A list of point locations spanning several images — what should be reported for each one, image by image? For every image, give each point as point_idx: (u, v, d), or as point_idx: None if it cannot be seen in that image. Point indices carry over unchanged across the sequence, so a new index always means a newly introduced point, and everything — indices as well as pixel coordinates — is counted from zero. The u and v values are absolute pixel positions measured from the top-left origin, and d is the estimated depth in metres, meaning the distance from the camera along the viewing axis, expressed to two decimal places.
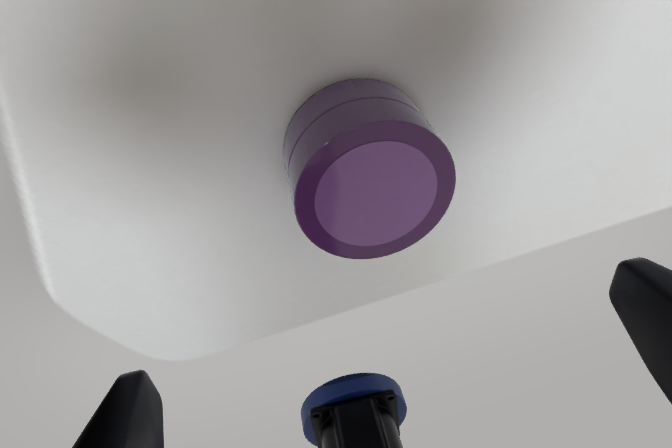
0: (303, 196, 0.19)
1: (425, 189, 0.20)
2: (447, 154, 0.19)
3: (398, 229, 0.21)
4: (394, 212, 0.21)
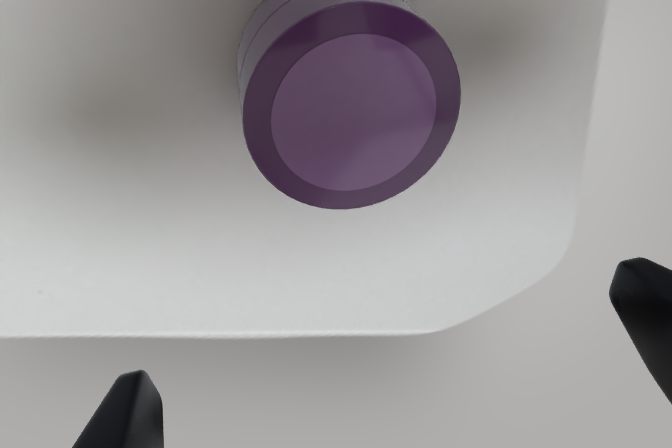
0: (336, 201, 0.17)
1: (357, 51, 0.14)
2: (302, 24, 0.13)
3: (419, 82, 0.15)
4: (388, 92, 0.15)
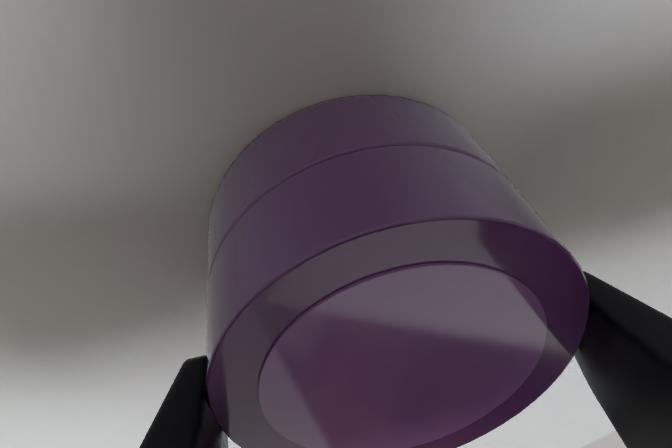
0: None
1: (410, 289, 0.07)
2: (304, 267, 0.07)
3: (520, 311, 0.08)
4: (464, 331, 0.08)
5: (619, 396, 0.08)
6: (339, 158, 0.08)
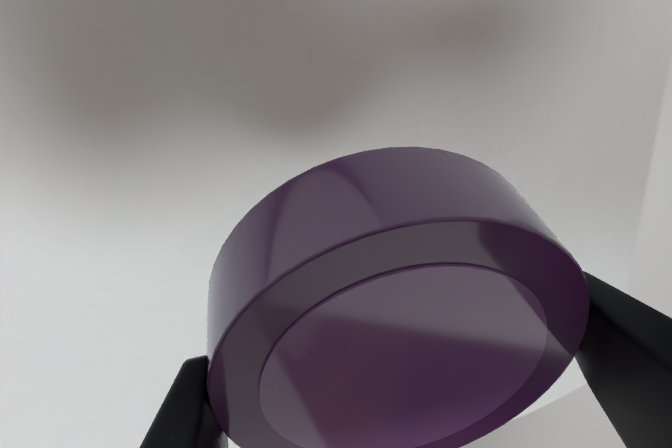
0: None
1: (411, 291, 0.07)
2: (305, 268, 0.07)
3: (520, 312, 0.08)
4: (464, 333, 0.08)
5: (619, 396, 0.08)
6: (339, 160, 0.08)
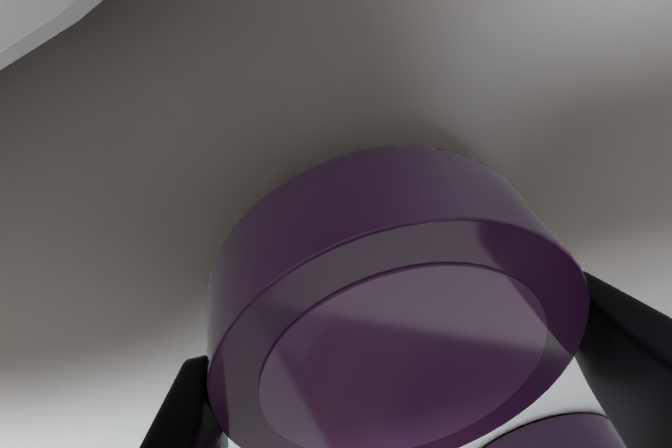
0: None
1: (411, 290, 0.07)
2: (305, 268, 0.07)
3: (520, 312, 0.08)
4: (464, 331, 0.08)
5: (619, 396, 0.08)
6: (339, 159, 0.08)
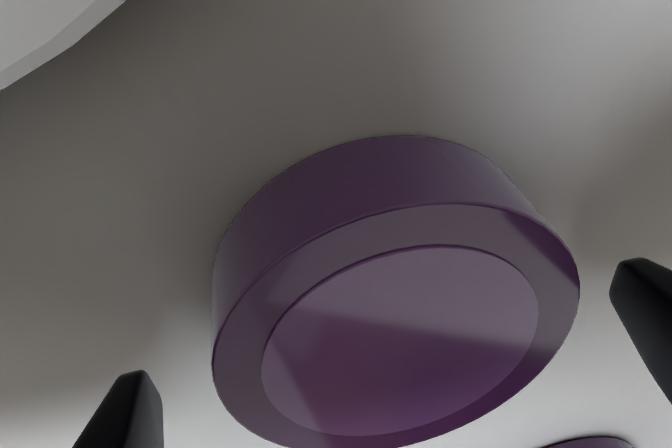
0: (374, 444, 0.11)
1: (407, 272, 0.08)
2: (306, 249, 0.07)
3: (512, 295, 0.09)
4: (458, 314, 0.09)
5: None
6: (338, 148, 0.08)
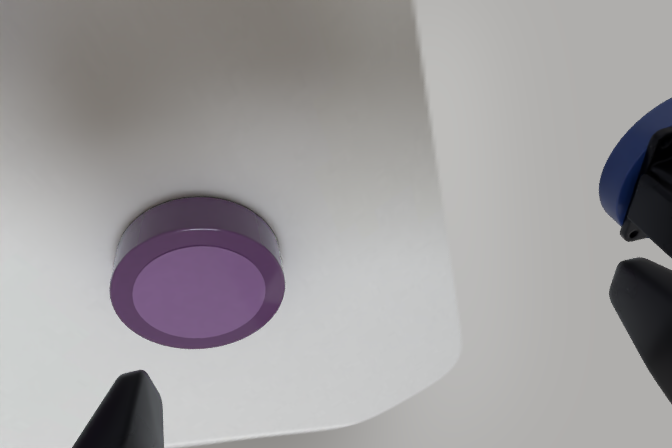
0: None
1: None
2: None
3: None
4: None
5: None
6: None
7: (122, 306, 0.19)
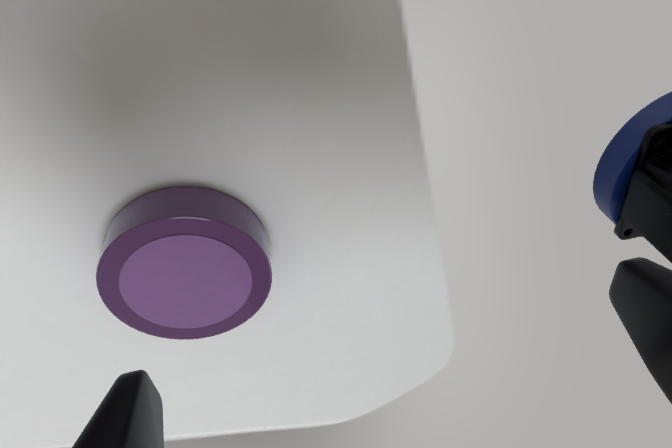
0: None
1: None
2: None
3: None
4: None
5: None
6: None
7: (109, 294, 0.19)
